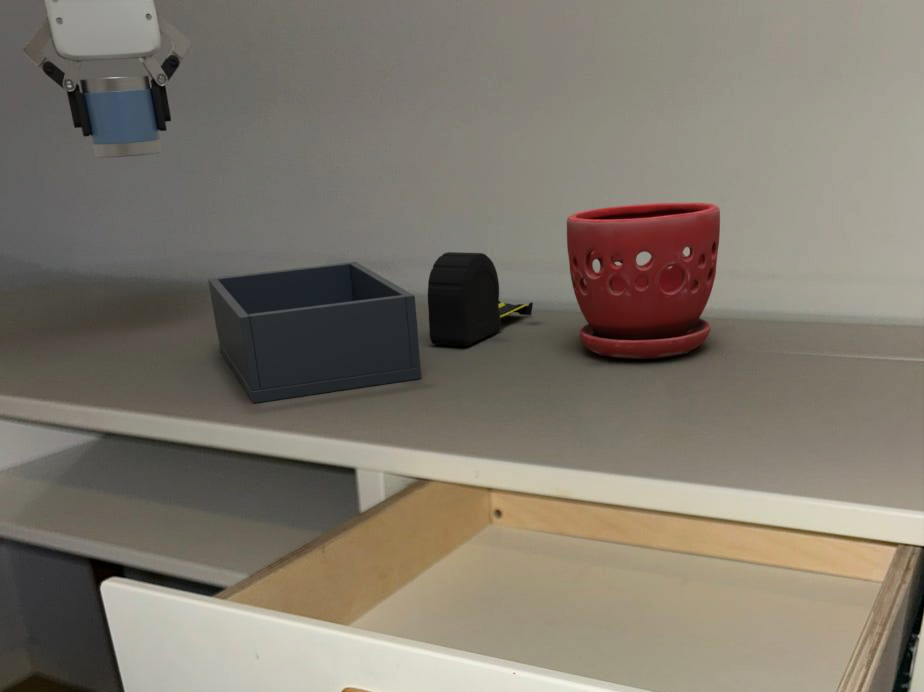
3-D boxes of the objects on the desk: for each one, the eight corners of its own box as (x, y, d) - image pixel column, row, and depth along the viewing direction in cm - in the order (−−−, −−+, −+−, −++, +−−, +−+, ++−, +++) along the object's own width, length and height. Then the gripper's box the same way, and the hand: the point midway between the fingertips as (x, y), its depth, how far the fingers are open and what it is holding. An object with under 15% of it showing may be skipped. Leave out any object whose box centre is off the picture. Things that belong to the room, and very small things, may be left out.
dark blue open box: (253, 403, 88) (239, 317, 85) (220, 351, 106) (207, 278, 102) (421, 378, 92) (414, 295, 89) (363, 332, 109) (355, 261, 106)
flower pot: (730, 335, 100) (738, 197, 94) (690, 371, 89) (695, 218, 84) (599, 329, 105) (598, 198, 99) (546, 362, 95) (542, 218, 89)
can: (96, 158, 106) (80, 79, 102) (93, 155, 111) (77, 79, 108) (165, 153, 108) (151, 75, 104) (158, 150, 113) (145, 76, 110)
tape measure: (466, 349, 101) (460, 260, 97) (426, 346, 102) (419, 259, 99) (533, 316, 112) (530, 235, 108) (496, 314, 114) (492, 235, 110)
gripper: (174, -74, 106) (205, 126, 114) (-13, -70, 101) (34, 138, 109) (183, -84, 99) (215, 128, 108) (-16, -81, 95) (35, 141, 103)
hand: (124, 131), depth 109 cm, fingers closed on can, 6 cm apart
